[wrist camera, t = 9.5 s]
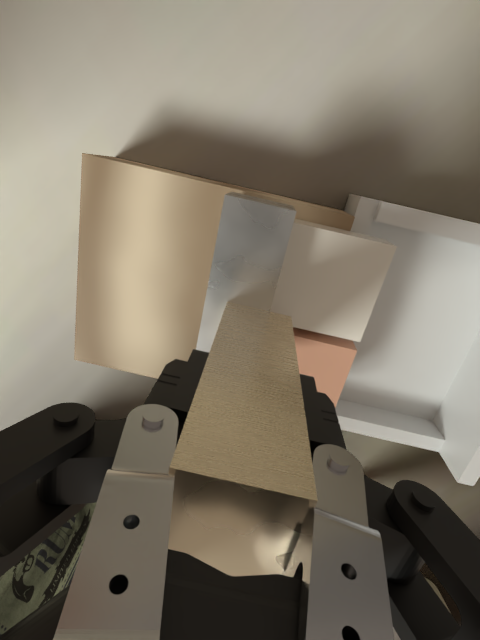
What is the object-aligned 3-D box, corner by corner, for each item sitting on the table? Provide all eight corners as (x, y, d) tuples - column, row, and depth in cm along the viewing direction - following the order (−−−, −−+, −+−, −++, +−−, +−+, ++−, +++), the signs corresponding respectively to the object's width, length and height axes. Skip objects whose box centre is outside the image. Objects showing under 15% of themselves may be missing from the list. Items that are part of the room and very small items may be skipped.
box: (287, 388, 27) (292, 444, 21) (349, 193, 21) (376, 199, 16) (431, 421, 27) (473, 486, 21) (528, 235, 21) (619, 256, 16)
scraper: (192, 394, 22) (97, 660, 10) (232, 191, 17) (144, 227, 5) (256, 409, 22) (238, 692, 10) (312, 210, 17) (406, 287, 5)
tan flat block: (102, 333, 26) (74, 359, 22) (114, 157, 22) (82, 153, 18) (288, 376, 26) (291, 409, 22) (340, 209, 22) (355, 216, 18)
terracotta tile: (244, 387, 22) (242, 406, 20) (263, 314, 20) (262, 328, 18) (323, 406, 22) (327, 427, 20) (349, 334, 20) (357, 350, 18)
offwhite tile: (265, 306, 20) (264, 320, 18) (288, 216, 18) (290, 221, 16) (351, 326, 20) (360, 342, 18) (384, 239, 18) (397, 246, 16)
